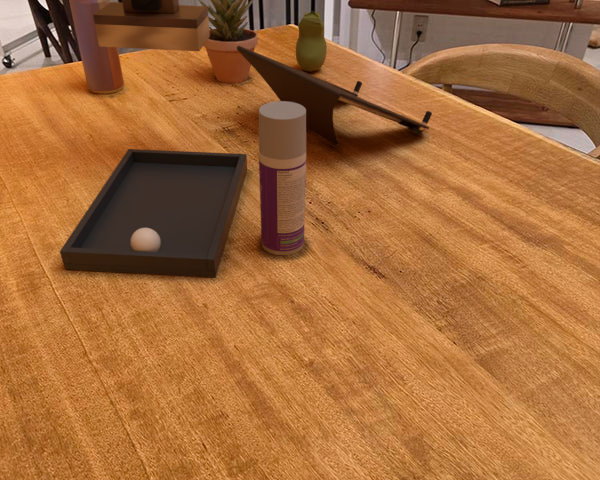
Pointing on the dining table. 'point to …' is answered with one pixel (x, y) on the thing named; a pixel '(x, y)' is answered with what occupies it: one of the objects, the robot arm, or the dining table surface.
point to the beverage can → (95, 49)
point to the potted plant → (229, 40)
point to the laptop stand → (319, 96)
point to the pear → (311, 42)
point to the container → (282, 176)
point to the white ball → (145, 240)
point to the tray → (160, 214)
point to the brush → (153, 26)
